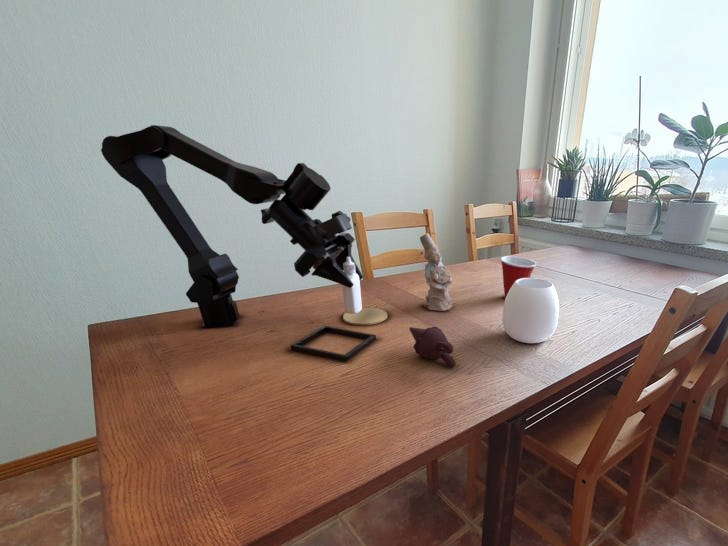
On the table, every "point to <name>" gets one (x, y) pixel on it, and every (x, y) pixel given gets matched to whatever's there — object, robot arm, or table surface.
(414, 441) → the table surface
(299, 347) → the empty black square frame
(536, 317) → the white vase
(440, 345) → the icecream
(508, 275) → the plastic cup
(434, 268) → the figurine
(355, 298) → the eye dropper bottle
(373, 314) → the cork trivet
